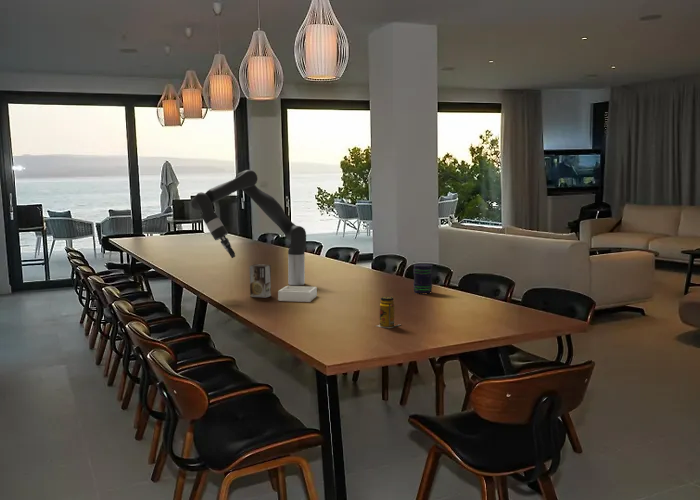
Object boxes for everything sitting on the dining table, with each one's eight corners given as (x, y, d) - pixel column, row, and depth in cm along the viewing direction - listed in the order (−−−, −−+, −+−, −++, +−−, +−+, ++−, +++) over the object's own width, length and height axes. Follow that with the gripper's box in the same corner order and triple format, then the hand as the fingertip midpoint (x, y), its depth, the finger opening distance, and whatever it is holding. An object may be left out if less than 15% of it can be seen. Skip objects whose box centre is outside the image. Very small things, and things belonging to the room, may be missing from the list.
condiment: (375, 326, 270) (375, 297, 269) (387, 322, 277) (387, 294, 275) (389, 329, 266) (389, 299, 264) (401, 325, 272) (402, 296, 271)
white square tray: (286, 295, 339) (286, 285, 339) (316, 296, 337) (316, 286, 336) (278, 300, 324) (278, 291, 323) (309, 301, 321) (309, 292, 321)
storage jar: (434, 292, 351) (434, 264, 349) (428, 295, 342) (429, 266, 340) (416, 290, 355) (417, 263, 353) (410, 293, 346) (410, 265, 344)
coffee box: (271, 295, 337) (271, 264, 335) (265, 298, 331) (265, 266, 329) (255, 294, 340) (255, 263, 338) (249, 296, 334) (249, 265, 332)
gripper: (222, 222, 326) (239, 250, 326) (223, 227, 340) (240, 254, 340) (209, 230, 325) (226, 258, 324) (211, 234, 339) (227, 261, 338)
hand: (233, 256), depth 332 cm, fingers open, 8 cm apart
